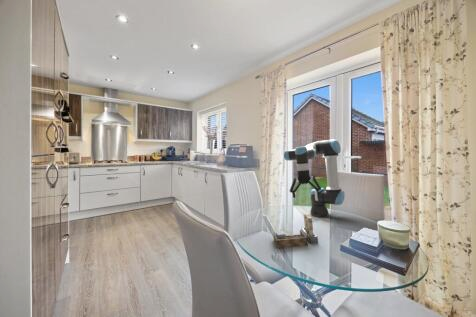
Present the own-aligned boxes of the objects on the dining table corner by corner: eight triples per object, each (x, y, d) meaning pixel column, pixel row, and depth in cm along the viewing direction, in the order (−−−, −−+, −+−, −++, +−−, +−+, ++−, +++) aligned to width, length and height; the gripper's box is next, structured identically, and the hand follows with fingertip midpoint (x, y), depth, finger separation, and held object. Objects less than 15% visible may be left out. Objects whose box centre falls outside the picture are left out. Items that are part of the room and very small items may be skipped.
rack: (302, 237, 133) (301, 229, 133) (307, 245, 121) (307, 237, 121) (274, 239, 134) (273, 232, 134) (277, 248, 122) (276, 240, 121)
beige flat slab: (314, 241, 126) (311, 218, 126) (310, 241, 126) (308, 218, 126) (308, 234, 137) (306, 212, 137) (305, 234, 137) (303, 213, 137)
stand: (301, 233, 139) (301, 227, 139) (309, 232, 139) (309, 226, 139) (309, 243, 123) (308, 237, 123) (318, 242, 123) (317, 236, 123)
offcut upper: (284, 235, 132) (283, 231, 132) (286, 238, 128) (285, 234, 127) (276, 236, 132) (275, 232, 132) (278, 239, 127) (277, 235, 127)
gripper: (319, 167, 134) (322, 198, 134) (283, 171, 135) (286, 201, 135) (324, 168, 126) (327, 200, 127) (285, 172, 127) (288, 204, 128)
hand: (306, 201), depth 131 cm, fingers open, 13 cm apart
